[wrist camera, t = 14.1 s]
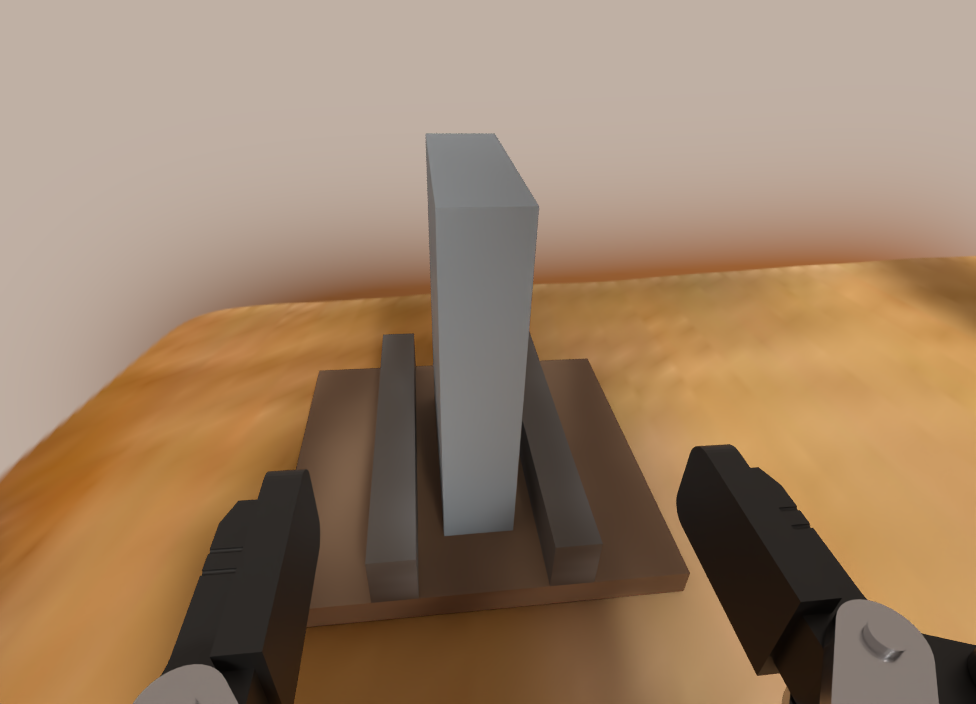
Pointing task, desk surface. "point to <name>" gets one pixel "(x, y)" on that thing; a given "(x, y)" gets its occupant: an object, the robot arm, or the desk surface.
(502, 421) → the door panel
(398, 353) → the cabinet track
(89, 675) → the desk surface
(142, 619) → the desk surface
